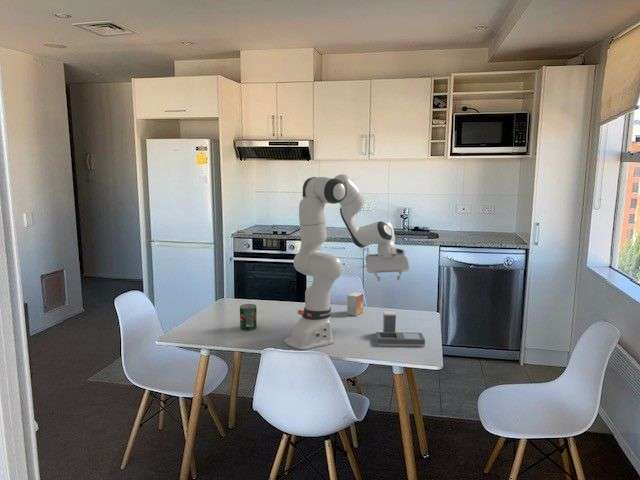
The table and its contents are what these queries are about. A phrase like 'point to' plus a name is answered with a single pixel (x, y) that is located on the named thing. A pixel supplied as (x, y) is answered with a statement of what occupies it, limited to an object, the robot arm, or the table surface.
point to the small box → (355, 304)
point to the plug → (389, 321)
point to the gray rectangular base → (399, 339)
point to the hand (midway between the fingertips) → (388, 280)
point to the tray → (382, 330)
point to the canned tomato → (248, 317)
